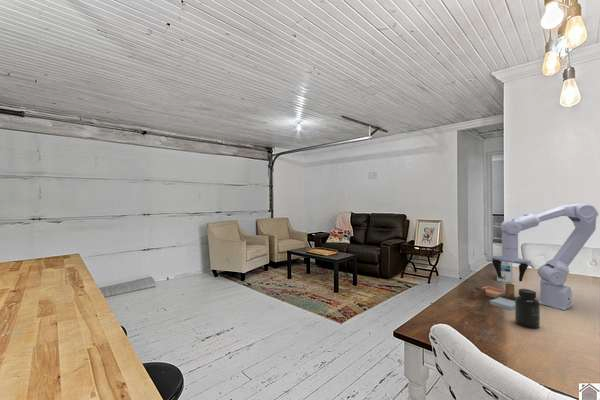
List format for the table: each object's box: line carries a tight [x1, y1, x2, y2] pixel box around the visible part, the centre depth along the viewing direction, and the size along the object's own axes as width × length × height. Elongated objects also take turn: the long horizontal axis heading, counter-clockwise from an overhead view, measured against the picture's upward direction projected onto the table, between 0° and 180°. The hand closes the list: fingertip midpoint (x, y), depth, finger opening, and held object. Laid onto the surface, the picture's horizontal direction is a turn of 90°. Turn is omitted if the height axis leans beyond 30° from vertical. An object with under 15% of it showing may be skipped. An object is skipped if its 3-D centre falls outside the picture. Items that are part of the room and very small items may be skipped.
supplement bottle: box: [514, 288, 541, 329], centre depth 101 cm, size 7×7×12 cm
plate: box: [489, 297, 515, 311], centre depth 119 cm, size 8×8×2 cm
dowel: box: [504, 282, 515, 300], centre depth 124 cm, size 3×3×7 cm
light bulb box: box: [496, 260, 513, 284], centre depth 155 cm, size 11×7×11 cm, turn 143°
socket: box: [497, 294, 517, 301], centre depth 124 cm, size 7×7×1 cm
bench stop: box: [470, 286, 486, 300], centre depth 128 cm, size 2×8×4 cm, turn 119°
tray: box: [482, 285, 505, 299], centre depth 132 cm, size 9×9×2 cm
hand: (509, 279), depth 124 cm, fingers open, 7 cm apart
